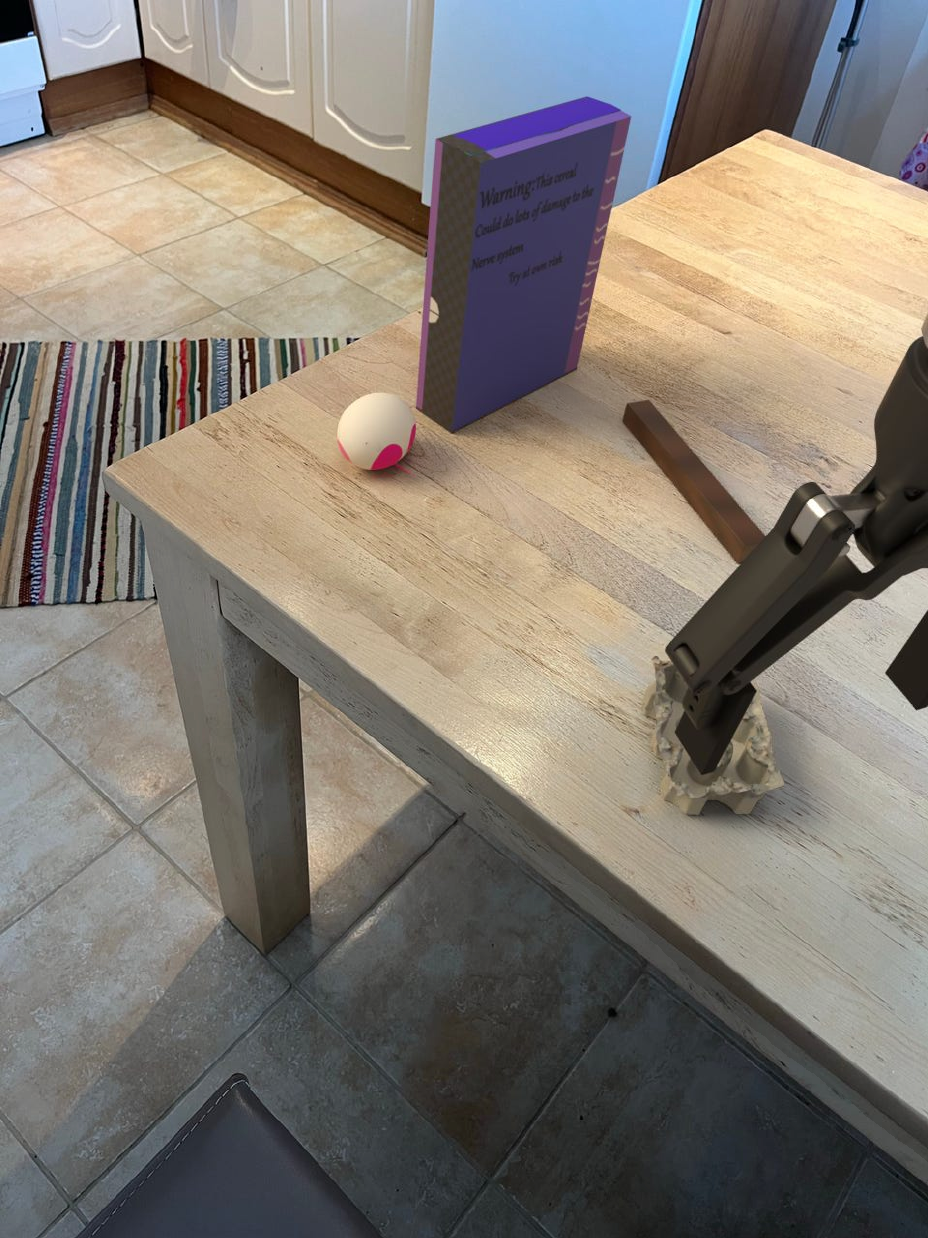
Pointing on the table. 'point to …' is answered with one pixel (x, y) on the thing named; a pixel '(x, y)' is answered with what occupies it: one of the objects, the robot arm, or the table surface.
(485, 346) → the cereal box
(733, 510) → the walnut stick
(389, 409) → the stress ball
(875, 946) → the table surface
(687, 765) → the egg carton
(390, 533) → the table surface
